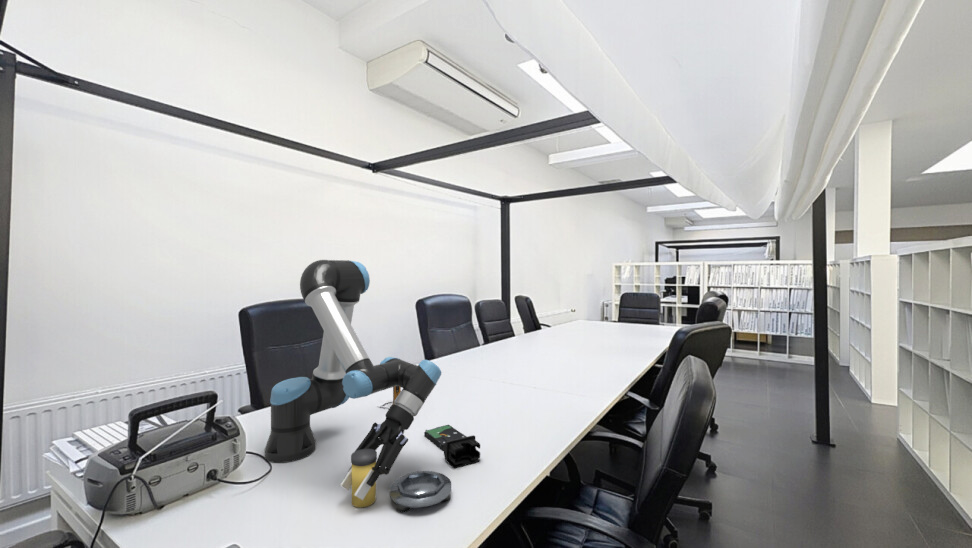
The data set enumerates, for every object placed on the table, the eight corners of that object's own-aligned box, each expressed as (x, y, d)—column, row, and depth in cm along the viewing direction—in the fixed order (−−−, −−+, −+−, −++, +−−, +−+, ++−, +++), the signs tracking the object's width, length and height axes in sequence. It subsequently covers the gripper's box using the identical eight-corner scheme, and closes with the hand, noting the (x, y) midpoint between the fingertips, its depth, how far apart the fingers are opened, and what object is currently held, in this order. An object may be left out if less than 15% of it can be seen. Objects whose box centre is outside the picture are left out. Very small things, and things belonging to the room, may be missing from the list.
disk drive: (469, 445, 137) (448, 431, 149) (469, 437, 137) (448, 423, 149) (442, 453, 131) (423, 437, 143) (442, 444, 131) (423, 429, 143)
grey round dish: (396, 522, 93) (396, 506, 93) (385, 488, 108) (385, 474, 108) (459, 506, 100) (459, 491, 100) (441, 476, 114) (441, 463, 114)
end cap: (470, 453, 130) (470, 432, 130) (481, 461, 124) (481, 440, 124) (443, 460, 125) (443, 438, 125) (452, 469, 119) (452, 447, 119)
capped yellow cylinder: (351, 510, 98) (352, 462, 98) (349, 496, 104) (350, 451, 103) (378, 504, 100) (378, 457, 100) (374, 491, 106) (375, 447, 106)
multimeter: (376, 404, 179) (376, 360, 179) (398, 401, 182) (398, 358, 182) (377, 415, 165) (377, 367, 165) (401, 412, 168) (401, 365, 168)
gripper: (433, 425, 107) (382, 513, 95) (391, 409, 120) (341, 485, 107) (418, 411, 103) (362, 501, 91) (376, 396, 116) (322, 473, 103)
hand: (351, 492), depth 99 cm, fingers closed on capped yellow cylinder, 6 cm apart
